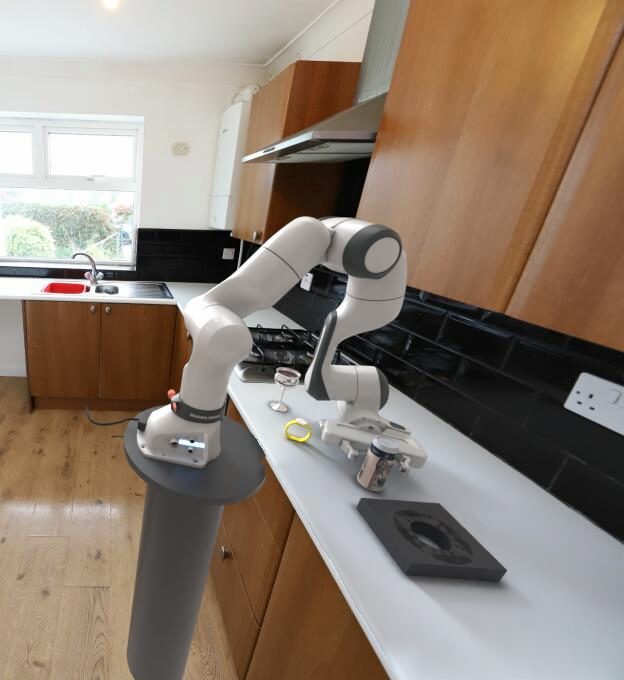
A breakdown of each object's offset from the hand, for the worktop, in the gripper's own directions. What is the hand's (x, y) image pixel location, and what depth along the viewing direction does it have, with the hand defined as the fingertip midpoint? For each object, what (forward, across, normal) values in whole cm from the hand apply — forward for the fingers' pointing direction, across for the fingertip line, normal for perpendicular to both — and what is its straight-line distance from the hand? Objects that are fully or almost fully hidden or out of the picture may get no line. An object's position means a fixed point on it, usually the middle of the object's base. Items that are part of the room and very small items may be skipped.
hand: (378, 463), depth 77 cm
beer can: (-1, 0, +7) cm, 7 cm away
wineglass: (-27, -18, +7) cm, 33 cm away
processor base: (+12, +6, +7) cm, 15 cm away
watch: (-11, -15, +7) cm, 20 cm away
